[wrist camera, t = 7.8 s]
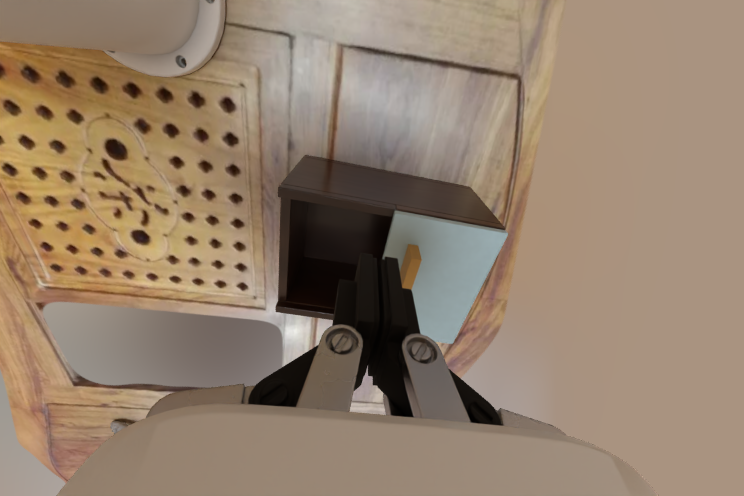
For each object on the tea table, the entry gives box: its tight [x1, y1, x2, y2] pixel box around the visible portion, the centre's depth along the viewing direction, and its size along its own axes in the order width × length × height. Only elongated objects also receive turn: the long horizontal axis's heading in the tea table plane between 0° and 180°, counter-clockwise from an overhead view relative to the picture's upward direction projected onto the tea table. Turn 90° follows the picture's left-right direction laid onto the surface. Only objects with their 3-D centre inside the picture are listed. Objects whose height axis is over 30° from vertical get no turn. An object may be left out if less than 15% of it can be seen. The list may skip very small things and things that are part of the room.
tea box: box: [276, 155, 505, 320], centre depth 29 cm, size 13×18×10 cm
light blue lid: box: [382, 210, 508, 344], centre depth 24 cm, size 13×9×3 cm
